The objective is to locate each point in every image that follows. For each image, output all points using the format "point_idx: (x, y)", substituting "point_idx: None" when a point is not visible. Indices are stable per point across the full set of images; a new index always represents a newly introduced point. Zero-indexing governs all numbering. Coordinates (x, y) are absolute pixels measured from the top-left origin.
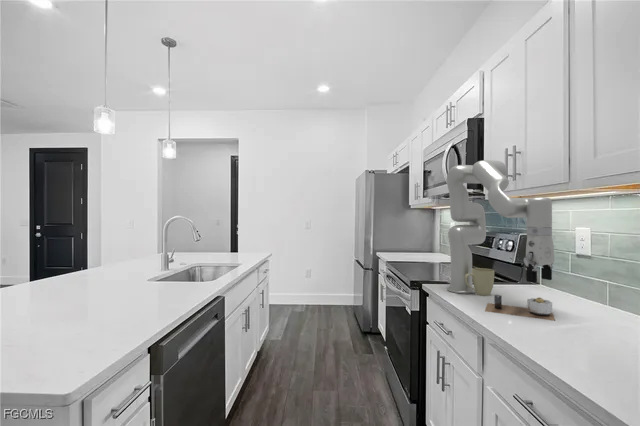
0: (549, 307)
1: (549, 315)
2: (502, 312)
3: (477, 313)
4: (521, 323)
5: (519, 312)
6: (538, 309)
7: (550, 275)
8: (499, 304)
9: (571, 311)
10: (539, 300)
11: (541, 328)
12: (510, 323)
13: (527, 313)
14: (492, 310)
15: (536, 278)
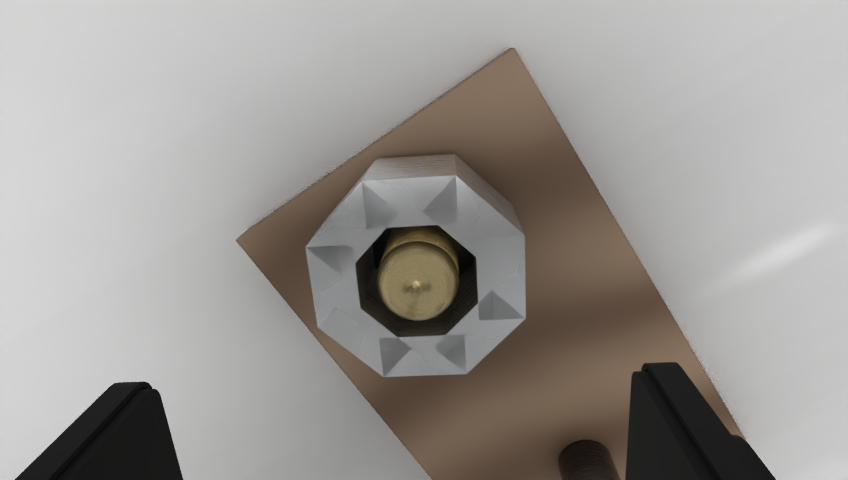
0: (422, 168)
1: None
2: None
3: None
4: (737, 190)
5: (545, 328)
6: (515, 215)
7: (102, 439)
8: (610, 472)
9: (8, 206)
10: (451, 269)
11: (738, 33)
12: (814, 228)
13: None
14: None
15: (698, 406)
